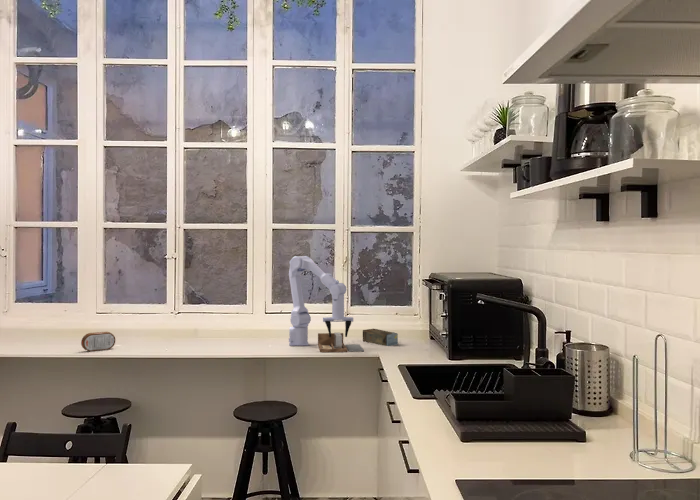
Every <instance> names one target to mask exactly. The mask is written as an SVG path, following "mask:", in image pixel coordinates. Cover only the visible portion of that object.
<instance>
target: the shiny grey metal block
mask: <svg viewBox="0 0 700 500" xmlns="http://www.w3.org/2000/svg"><path fill="white" fill-rule="evenodd" d="M333 333H334V347H335V349H343V348H342V335H341V334H340V333H341V332H333Z"/></svg>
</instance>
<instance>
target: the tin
mask: <svg viewBox="0 0 700 500" xmlns="http://www.w3.org/2000/svg"><path fill="white" fill-rule="evenodd" d="M80 345H81V347H82V348H83V349H84V350H85V351H86V352H99V351H107V350H108V351H109V350H111V349H112V348H113V347H114V346H115V345H116V337H115V335H114V334H113V333H112V332H110V331H99V332H98V331H97V332H89V333H86V334H85V335H84V336H83V337H82V339H81V342H80Z"/></svg>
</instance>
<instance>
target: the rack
mask: <svg viewBox="0 0 700 500" xmlns="http://www.w3.org/2000/svg"><path fill="white" fill-rule="evenodd" d="M334 333H335V332H331V337H329V332H327V333H325V332H323V333H322V332H320V333H319V332H317V346H318V350H319V353H347V352H348V349H347V347H346V346H345V343H344V333H343V332H339V333H340V334H341V335H342V349H335V348H334V346H333V345H334ZM322 345H331V346H330V348H331V349H323V348H322Z"/></svg>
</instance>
